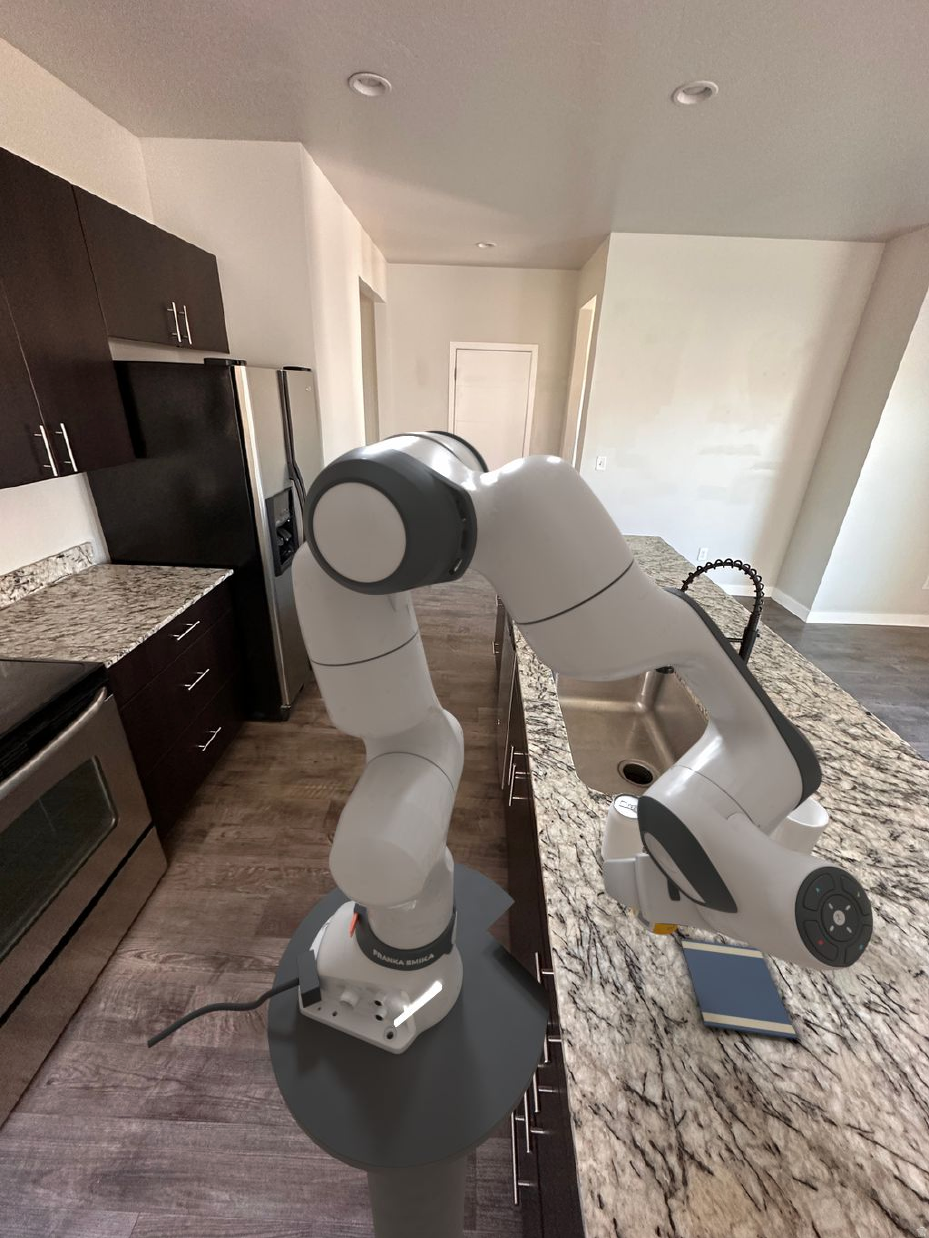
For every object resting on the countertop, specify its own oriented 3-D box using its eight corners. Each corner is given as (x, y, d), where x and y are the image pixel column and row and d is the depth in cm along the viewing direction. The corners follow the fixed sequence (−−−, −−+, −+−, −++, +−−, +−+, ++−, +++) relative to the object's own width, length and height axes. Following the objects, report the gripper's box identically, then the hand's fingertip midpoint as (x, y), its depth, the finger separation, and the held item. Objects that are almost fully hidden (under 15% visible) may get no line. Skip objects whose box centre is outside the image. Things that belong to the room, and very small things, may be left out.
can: (633, 880, 81) (646, 826, 76) (595, 862, 84) (605, 809, 79) (642, 852, 86) (655, 800, 81) (606, 836, 89) (616, 785, 84)
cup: (787, 853, 86) (812, 791, 81) (812, 895, 79) (842, 830, 73) (739, 848, 87) (761, 786, 81) (760, 889, 80) (785, 825, 74)
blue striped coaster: (704, 1026, 62) (705, 1024, 62) (680, 939, 72) (680, 938, 72) (796, 1039, 61) (797, 1037, 61) (758, 950, 71) (759, 948, 71)
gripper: (807, 850, 53) (734, 842, 66) (625, 854, 52) (586, 845, 65) (823, 917, 51) (744, 894, 64) (633, 923, 50) (591, 899, 62)
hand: (663, 869), depth 64 cm, fingers closed on beer can, 6 cm apart
